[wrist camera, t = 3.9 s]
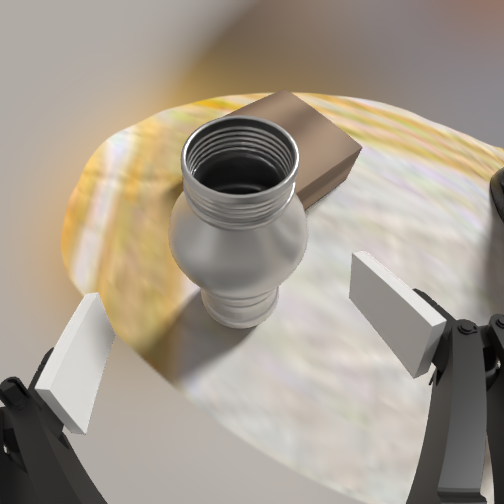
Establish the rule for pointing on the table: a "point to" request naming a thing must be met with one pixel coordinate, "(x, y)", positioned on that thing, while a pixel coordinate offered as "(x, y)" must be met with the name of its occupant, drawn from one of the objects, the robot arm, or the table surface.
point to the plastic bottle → (239, 217)
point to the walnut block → (309, 143)
